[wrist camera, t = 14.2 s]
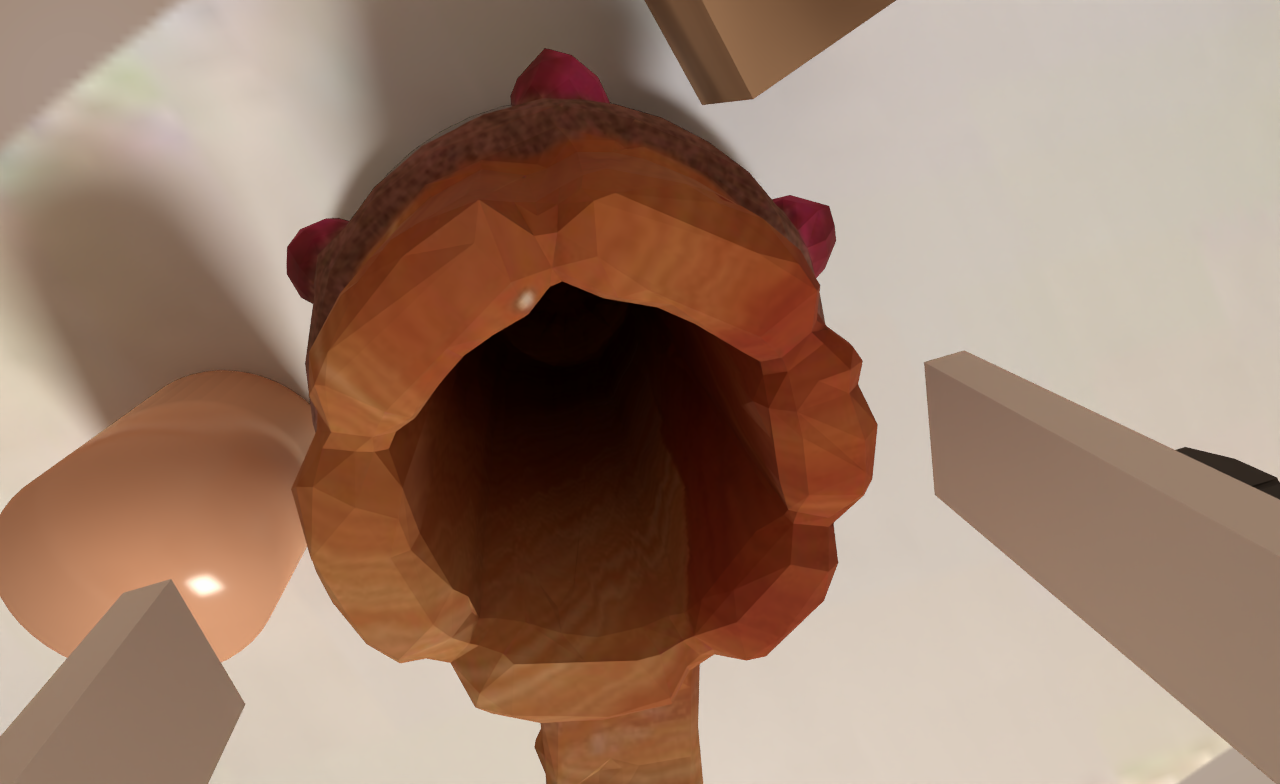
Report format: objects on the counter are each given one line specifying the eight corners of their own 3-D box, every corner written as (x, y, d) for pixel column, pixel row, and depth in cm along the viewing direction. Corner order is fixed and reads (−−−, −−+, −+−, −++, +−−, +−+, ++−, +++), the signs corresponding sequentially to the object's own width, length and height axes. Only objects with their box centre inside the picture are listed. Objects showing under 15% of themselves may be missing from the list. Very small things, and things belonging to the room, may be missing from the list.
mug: (384, 89, 18) (-89, -37, 4) (692, 82, 19) (1133, -34, 5) (453, 566, 23) (346, 1214, 9) (692, 540, 24) (912, 1088, 10)
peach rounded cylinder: (187, 565, 23) (77, 705, 17) (91, 400, 21) (-70, 501, 15) (368, 514, 23) (318, 636, 18) (293, 347, 21) (209, 427, 15)
